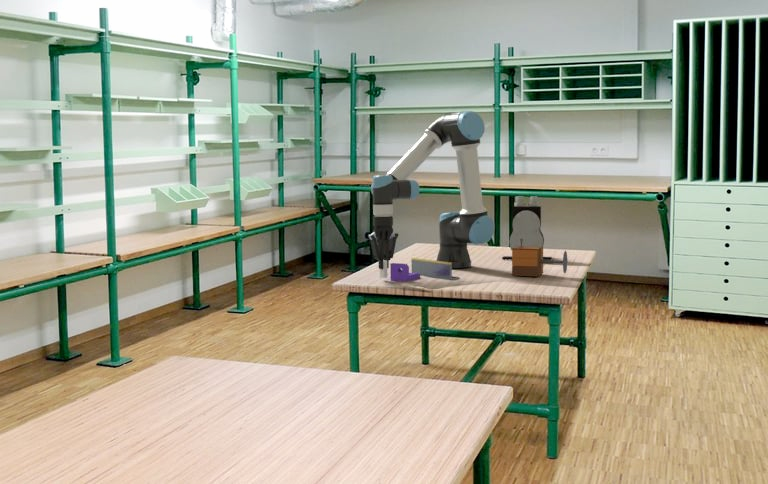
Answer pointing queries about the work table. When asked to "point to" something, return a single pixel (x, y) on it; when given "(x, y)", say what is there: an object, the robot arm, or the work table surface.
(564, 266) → the brown box with disc
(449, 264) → the wall
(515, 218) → the mechanical component
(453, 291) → the work table surface
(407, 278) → the bracket
